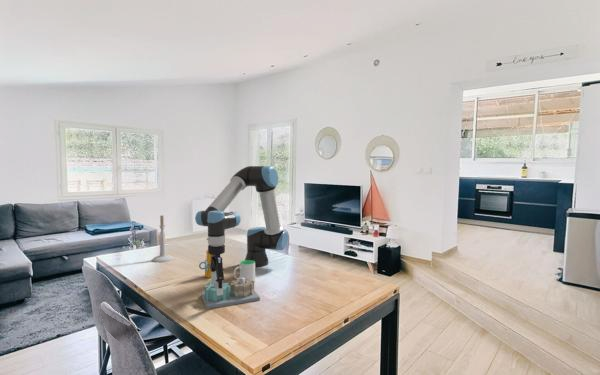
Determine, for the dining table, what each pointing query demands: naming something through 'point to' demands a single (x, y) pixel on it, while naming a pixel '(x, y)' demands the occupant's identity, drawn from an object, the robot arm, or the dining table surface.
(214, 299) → the gear
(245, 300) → the gear board
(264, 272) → the dining table surface
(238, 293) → the gear
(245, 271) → the mug
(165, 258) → the candlestick
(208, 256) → the orange post with rings
